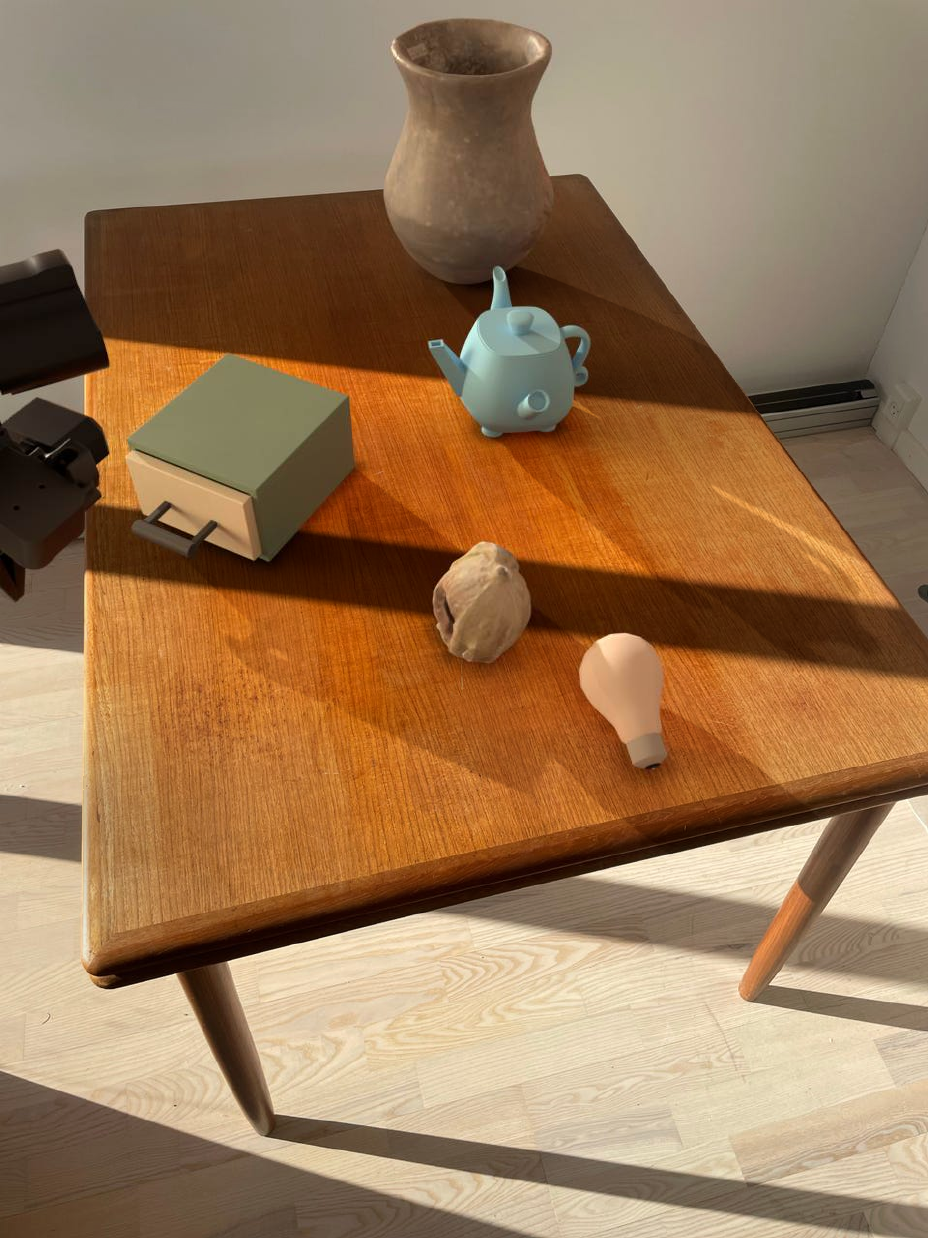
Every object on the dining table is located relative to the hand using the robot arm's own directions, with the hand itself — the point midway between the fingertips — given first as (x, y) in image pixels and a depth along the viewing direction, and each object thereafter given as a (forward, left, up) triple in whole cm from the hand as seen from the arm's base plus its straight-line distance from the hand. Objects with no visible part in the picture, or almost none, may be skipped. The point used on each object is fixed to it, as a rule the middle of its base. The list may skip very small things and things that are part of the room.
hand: (14, 597), depth 66 cm
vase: (+47, +56, -13) cm, 74 cm away
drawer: (+14, +19, -12) cm, 27 cm away
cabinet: (+17, +22, -13) cm, 31 cm away
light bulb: (+42, -12, -13) cm, 45 cm away
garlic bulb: (+33, -1, -13) cm, 36 cm away
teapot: (+44, +28, -13) cm, 54 cm away
